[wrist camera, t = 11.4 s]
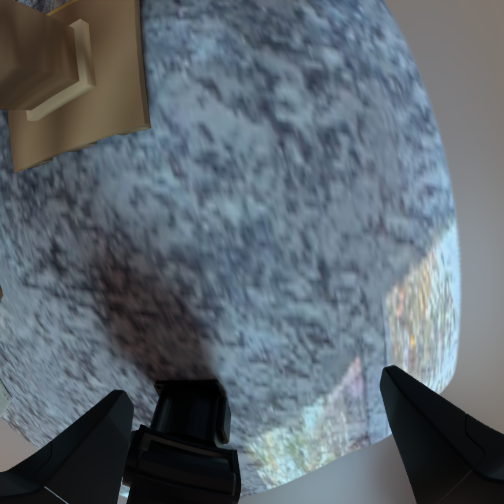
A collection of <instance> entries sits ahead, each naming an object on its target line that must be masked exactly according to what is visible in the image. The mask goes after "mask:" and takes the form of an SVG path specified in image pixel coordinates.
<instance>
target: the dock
mask: <svg viewBox="0 0 504 504" xmlns="http://www.w3.org/2000/svg"><path fill="white" fill-rule="evenodd" d="M46 15H48V16H50V17H53V18H55V19H57V20H59V21H61V22H63V23H65V24H67V25H70V24H72V23H74V22H76V21H77V20H79V19H82V20H83V21H85V22H87V23H88V24H89V33H90V43H91V51H92V59H93V66H94V73H95V80H96V86H97V87H96V88H94V89H92V90H90V91H88V92H86V93H84V94H82V95H81V96H79V97H77V98H75V99H73V100H71V101H70V102H68V103H66V104H64V105H63V106H61V107H59V108H58V109H56V110H54V111H53V112H51V113H49V114H48V115H46V116H45V117H43V118H41V119H40V120H38V121H28V120H27V113H26V110H8V121H9V135H10V145H11V153H12V161H13V168H14V173H15V172H20V171H23V170H25V169H29V168H34V167H38V166H40V165H42V164H45V163H47V162H49V161H52V160H53V158H52V157H55V156H57V155H60V154H62V153H65V152H74V151H78V150H81V149H83V148H86V147H89V146H92V145H95V144H96V141H98V140H101V139H104V138H107V137H110V136H113V135H127V134H130V133H134V132H138V131H141V130H145V129H149V128H151V124H150V117H149V110H148V102H147V94H146V85H145V76H144V65H143V54H142V41H141V26H140V3H139V0H71V1H69V2H67V3H65V4H63V5H61V6H60V7H58V8H56V9H54V10H53V11H51V12H49V13H48V14H46Z"/></svg>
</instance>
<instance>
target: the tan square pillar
mask: <svg viewBox="0 0 504 504" xmlns="http://www.w3.org/2000/svg"><path fill="white" fill-rule="evenodd" d="M96 87H97V86H96V80H95V73H94V66H93V59H92V51H91V43H90V33H89V24H88V23H87V22H85V21H83V20H82V19H79V20H77V21H76V22H74V23H72V24H70V25H67V24H65V23H63V22H61V21H59V20H57V19H55V18H53V17H50V16H48V15H46V14H44V13H42V12H40V11H38V10H36V9H33V8H31V7H29V6H26V5H24V4H22V3H19V2H17V1H15V0H0V110H26V113H27V120H28V121H38V120H40V119H41V118H43V117H45V116H46V115H48V114H49V113H51V112H53V111H54V110H56V109H58V108H59V107H61V106H63V105H64V104H66V103H68V102H70V101H71V100H73V99H75V98H77V97H79V96H81V95H82V94H84V93H86V92H88V91H90V90H92V89H94V88H96Z"/></svg>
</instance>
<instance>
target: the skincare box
mask: <svg viewBox="0 0 504 504" xmlns="http://www.w3.org/2000/svg"><path fill="white" fill-rule="evenodd" d="M11 401H12V398H11V396H10V395H9V393H8V392H7V390H6V389H5V387H4V385H3V383H2V382H1V380H0V417H1V416H2V414H3V413H4V411H5V410H6V408H7V407H8V405H9V404H10V402H11Z"/></svg>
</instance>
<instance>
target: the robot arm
mask: <svg viewBox="0 0 504 504" xmlns="http://www.w3.org/2000/svg"><path fill="white" fill-rule="evenodd" d="M154 388H155V390H156V392H157V394H158V395H159V399H158V402H157V406H156V409H155V412H154V415H153V418H152V421H151V425H150V428H148V427H147V426H145V425H142V424H141V425H140V427H139V430H136V431H132V432H131V429H132V421H133V413H134V406H133V404H132V402H131V400H130V398H129V397H128V395H127V393H126V392H125V391H124V390H113V391H112V392H110V393H109V394H108V395H107V396H106V397H104V398H103V399H102V400H101V401H100V402H98V403H97V404H96V405H95V406H93V407H92V408H91V409H90V410H89V411H87V412H86V413H85V414H84V415H82V416H81V417H80V418H79V419H78V420H76V421H75V422H74V423H73V424H71V425H70V426H69V427H68V428H66V429H65V430H64V431H63V432H61V433H60V434H59V435H58V436H57V437H55V438H54V439H53V440H52V441H50V442H49V443H48V444H46V445H45V446H44V447H43V448H41V449H40V450H39V451H37V452H36V453H34V454H33V455H31V456H30V457H28V458H27V459H25V460H24V461H22V462H20V463H19V464H17V465H16V466H14V467H12V468H11V469H9V470H7V471H4V472H0V504H117V500H118V496H119V491H120V486H121V481H122V477H123V481H122V485H125V486H128V487H130V491H129V495H128V500H127V503H126V504H238V501H239V498H240V493H241V476H240V469H239V462H238V455H237V450H234V449H230V450H229V449H224V448H223V444H227V443H228V442H229V437H230V422H231V410H230V407H229V404H228V401H227V398H226V397H223V395H222V392H221V388H220V385H219V383H218V382H217V381H216V380H200V381H156V382H155V385H154ZM380 391H381V395H382V398H383V402H384V406H385V410H386V414H387V418H388V422H389V426H390V428H391V431H392V434H393V436H394V439H395V442H396V445H397V447H398V450H399V453H400V455H401V458H402V461H403V464H404V466H405V470H406V472H407V475H408V478H409V481H410V484H411V487H412V490H413V493H414V496H415V499H416V503H417V504H504V434H502V433H500V432H498V431H496V430H494V429H492V428H490V427H488V426H486V425H485V424H483V423H481V422H480V421H478V420H476V419H475V418H473V417H472V416H470V415H469V414H466V413H465V412H464V411H463V410H461V409H460V408H458V407H457V406H455V405H453V404H452V403H451V402H449V401H448V400H446V399H445V398H443V397H442V396H440V395H439V394H437V393H436V392H434V391H433V390H431V389H430V388H428V387H427V386H425V385H424V384H422V383H421V382H419V381H418V380H416V379H415V378H413V377H412V376H411V375H409V374H408V373H406V372H405V371H403V370H402V369H400V368H399V367H397V366H395V365H391V366H388V367H384V368H383V371H382V375H381V380H380Z"/></svg>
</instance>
